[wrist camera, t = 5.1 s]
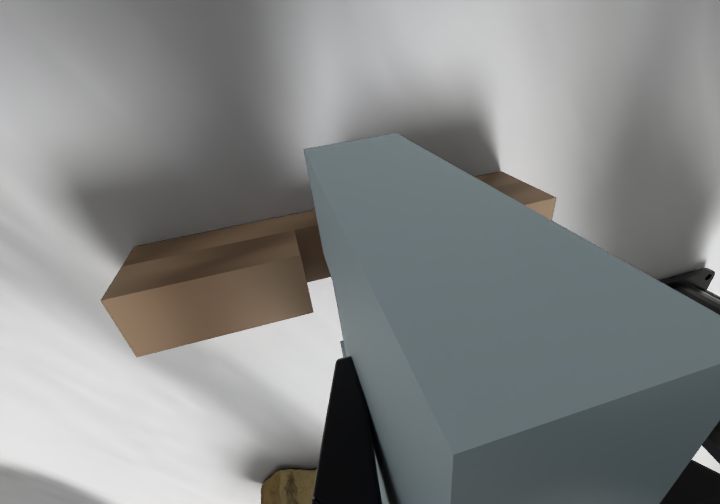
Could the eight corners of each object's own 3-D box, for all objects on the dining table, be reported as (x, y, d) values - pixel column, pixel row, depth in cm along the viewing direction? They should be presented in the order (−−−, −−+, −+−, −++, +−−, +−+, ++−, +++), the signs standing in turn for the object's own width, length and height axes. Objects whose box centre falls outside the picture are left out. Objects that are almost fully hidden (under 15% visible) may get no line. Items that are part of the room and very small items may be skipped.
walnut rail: (501, 171, 16) (556, 197, 13) (496, 219, 17) (545, 253, 14) (134, 246, 13) (100, 300, 11) (160, 296, 15) (136, 357, 12)
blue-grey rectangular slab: (303, 149, 9) (453, 455, 2) (396, 133, 9) (773, 345, 2) (350, 397, 14) (437, 714, 7) (409, 380, 14) (542, 665, 8)
